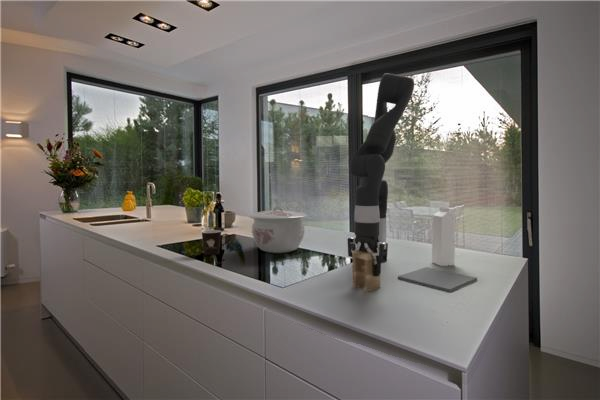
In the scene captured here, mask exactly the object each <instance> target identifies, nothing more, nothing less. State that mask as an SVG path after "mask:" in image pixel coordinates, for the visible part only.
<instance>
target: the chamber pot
mask: <svg viewBox="0 0 600 400" xmlns="http://www.w3.org/2000/svg"><path fill="white" fill-rule="evenodd" d="M308 216H309V215H308V213H305V212H301V211H295V210H290V209H289V210H288V209H287V210H286V209H283V208H282V207H281V206H275V207H274V208H273V209H272V210H262V211H258V212H254V213H251V214H249V215H248V217H249V218H251V219H253V223H252V225H251V233H252V239H253V241H254V242H255V244H256V245H257V247H258V248H259V249H260V250H261V251H262V252H266V253H267V254H268V253H269V254H286V253H291V252H293V251H295V250H297V249H298V248H299V246H300V245H301V243H302V242H303V240H304V237H305V236H304V235H305V227H306V226H305V224H304V222H303V219H304V218H307V217H308Z"/></svg>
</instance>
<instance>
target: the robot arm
mask: <svg viewBox="0 0 600 400" xmlns="http://www.w3.org/2000/svg"><path fill="white" fill-rule="evenodd" d="M414 89H415V81H414V79H413V78H412V77H410V76H406V75H400V74H394V73H387V72H386V73H384V74H383V75H382V77H381V78H380V81H379V84H378V90H377V98H376V106H375V113H374V119H373V120H374V121H373V123H372V124H371V126H370V127H369V130H368V132H367V135H366V138H365V140H364V142H363V143H362V144H361V145H360V146H359V148H358V149H357V150H356V152H355V153H354V154H353V155H352V157H351V158H350V159H351V160H350V162H349V171H350V174H351V176H353V177H355V178H361V179H360V180H361V181H360V185H358V186H357V187H356V189H355V193H354V194H355V199H354V203H355V204H354V205H355V206H354V207H355V208H354V222H353V223H354V228H353V229H354V232H353V233H354V235H355V237H354V236H353V237H348V238H347V253H348V254H347V255H348V257H351V258H352V259H353V257H352V251H355V250H357V251H359V250H360V251H363V252H368V253H370V254H371V258H372V260H373V263H374V264H373V276H375V277H377V276H379V275H380V276H381V273H382V271H381V268H382V264H384V263H387V261H388V248H389V246H388V245H389V244H388V242H387V211H388V196H389V185H388V181H387V180H386V179H385V178H384V175H385V171H386V163H387V162H388V161H389V160H390V159H391V157H392V156H393V154H394V150H395V145H396V139H397V137H396V132H395V129H396V126H397V124H398V123H399V121H400V120H401V118H402V116H403V114H404V112H405V110H406V109H407V107H408V105H409V103H410V101H411V98H412V96H413V92H414ZM388 104H391V105H392V104H393V105H394V106H393V107H392V108H391V109H389V110H388ZM373 252H377V253H375V254H374V253H373ZM375 256H376V257H375Z"/></svg>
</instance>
